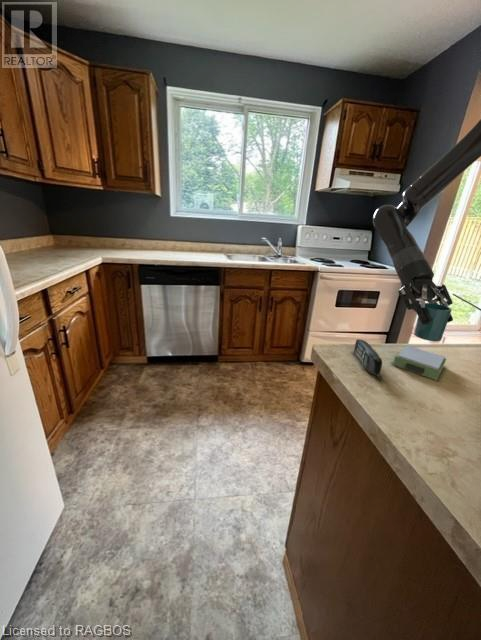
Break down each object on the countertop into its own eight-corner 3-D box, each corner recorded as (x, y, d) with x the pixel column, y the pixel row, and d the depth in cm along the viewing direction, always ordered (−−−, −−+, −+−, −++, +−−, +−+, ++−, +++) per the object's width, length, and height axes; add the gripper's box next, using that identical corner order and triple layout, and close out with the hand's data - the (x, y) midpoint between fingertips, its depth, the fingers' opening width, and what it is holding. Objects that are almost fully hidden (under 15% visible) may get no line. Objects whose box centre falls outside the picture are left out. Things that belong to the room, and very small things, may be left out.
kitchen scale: (403, 353, 80) (406, 344, 79) (443, 366, 74) (447, 356, 73) (392, 366, 73) (395, 355, 72) (435, 381, 67) (439, 370, 66)
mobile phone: (354, 337, 78) (377, 362, 64) (365, 338, 78) (390, 362, 64) (351, 353, 80) (372, 380, 65) (361, 353, 80) (385, 381, 65)
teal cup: (416, 329, 75) (425, 301, 72) (443, 337, 71) (453, 307, 68) (410, 335, 71) (419, 306, 68) (438, 343, 67) (449, 312, 64)
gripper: (401, 258, 69) (429, 318, 62) (443, 258, 73) (474, 315, 66) (380, 274, 75) (404, 330, 69) (420, 274, 79) (446, 326, 73)
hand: (438, 322), depth 68 cm, fingers closed on teal cup, 6 cm apart
